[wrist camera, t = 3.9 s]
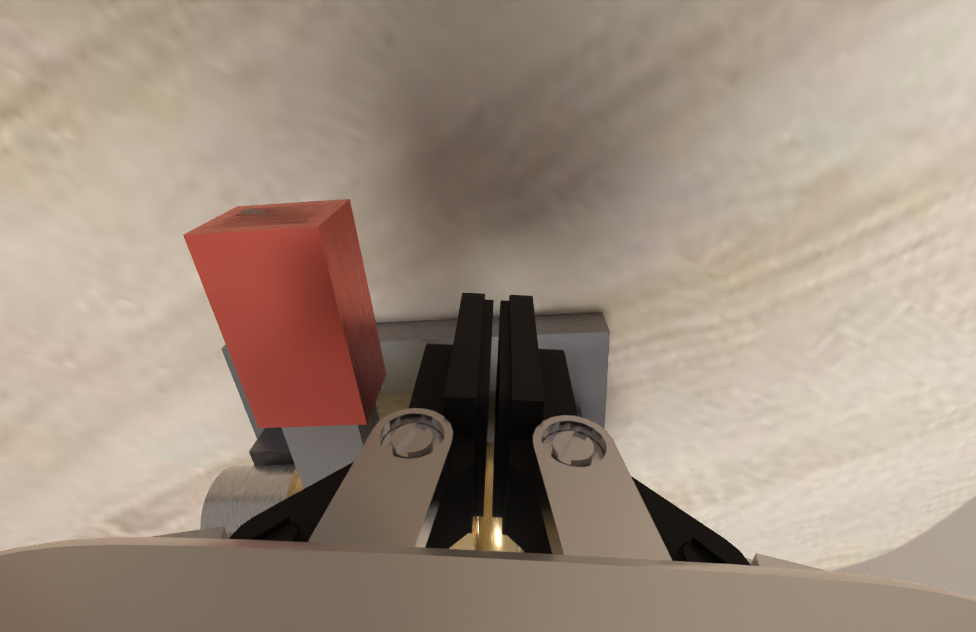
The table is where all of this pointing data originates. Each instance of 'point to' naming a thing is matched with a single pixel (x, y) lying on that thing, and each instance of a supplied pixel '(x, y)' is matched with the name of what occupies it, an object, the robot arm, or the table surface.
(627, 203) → the table surface
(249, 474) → the valve manifold
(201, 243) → the valve lever
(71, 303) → the table surface
